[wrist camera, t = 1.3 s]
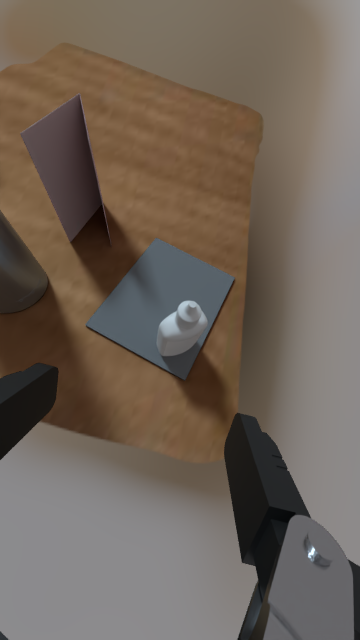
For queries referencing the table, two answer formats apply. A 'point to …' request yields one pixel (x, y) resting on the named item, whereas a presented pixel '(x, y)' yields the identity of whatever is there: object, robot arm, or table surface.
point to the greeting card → (66, 164)
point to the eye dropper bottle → (181, 329)
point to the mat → (160, 303)
